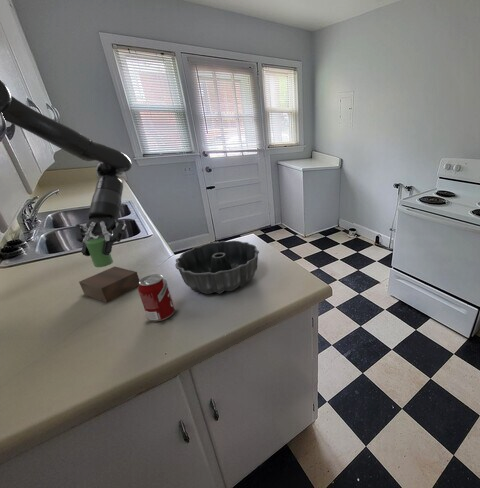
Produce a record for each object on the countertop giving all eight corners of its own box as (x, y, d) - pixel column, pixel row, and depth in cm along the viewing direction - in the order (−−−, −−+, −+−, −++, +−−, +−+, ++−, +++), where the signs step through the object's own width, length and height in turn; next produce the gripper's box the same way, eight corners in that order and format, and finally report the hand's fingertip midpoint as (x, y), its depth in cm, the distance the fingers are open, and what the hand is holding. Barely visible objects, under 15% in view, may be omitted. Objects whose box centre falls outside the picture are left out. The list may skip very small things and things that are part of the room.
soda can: (158, 326, 73) (146, 288, 68) (142, 319, 76) (130, 282, 71) (180, 311, 79) (170, 276, 74) (164, 306, 81) (154, 271, 76)
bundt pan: (208, 260, 109) (204, 237, 105) (271, 265, 105) (269, 241, 101) (163, 298, 85) (155, 270, 81) (242, 306, 81) (238, 277, 77)
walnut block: (106, 302, 83) (101, 288, 81) (84, 295, 87) (78, 281, 85) (140, 284, 92) (136, 271, 90) (119, 278, 96) (114, 266, 94)
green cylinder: (100, 268, 83) (91, 244, 80) (90, 265, 85) (81, 242, 81) (116, 261, 87) (108, 238, 84) (107, 259, 89) (98, 236, 85)
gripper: (73, 201, 84) (59, 252, 78) (122, 199, 86) (113, 249, 80) (90, 212, 91) (79, 260, 85) (135, 210, 93) (128, 257, 87)
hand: (95, 254), depth 82 cm, fingers closed on green cylinder, 4 cm apart
